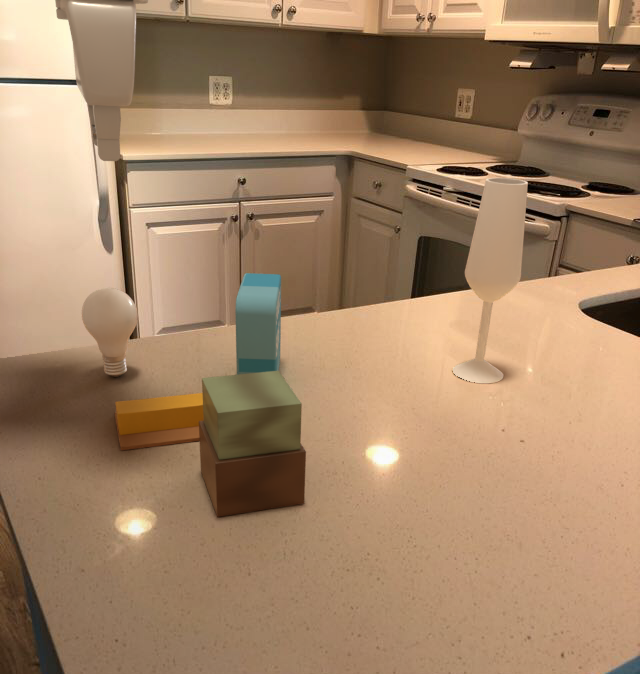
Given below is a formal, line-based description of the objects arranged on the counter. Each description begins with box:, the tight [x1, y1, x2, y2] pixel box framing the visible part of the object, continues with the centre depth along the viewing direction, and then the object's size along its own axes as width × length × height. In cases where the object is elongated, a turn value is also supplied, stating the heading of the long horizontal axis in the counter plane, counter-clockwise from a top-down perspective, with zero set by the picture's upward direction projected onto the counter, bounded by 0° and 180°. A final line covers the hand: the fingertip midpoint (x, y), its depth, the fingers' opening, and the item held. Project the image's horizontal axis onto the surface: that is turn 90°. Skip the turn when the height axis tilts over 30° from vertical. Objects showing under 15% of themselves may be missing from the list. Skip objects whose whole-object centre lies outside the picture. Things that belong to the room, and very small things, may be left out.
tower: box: [199, 370, 307, 518], centre depth 64 cm, size 8×8×10 cm
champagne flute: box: [452, 177, 529, 384], centre depth 87 cm, size 7×7×24 cm
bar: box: [114, 392, 204, 435], centre depth 76 cm, size 14×3×2 cm, turn 109°
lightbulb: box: [81, 287, 139, 378], centre depth 85 cm, size 6×6×11 cm
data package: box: [235, 272, 282, 375], centre depth 86 cm, size 12×4×12 cm, turn 0°
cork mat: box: [114, 412, 200, 451], centre depth 77 cm, size 14×8×1 cm, turn 109°
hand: (105, 152), depth 65 cm, fingers open, 8 cm apart
